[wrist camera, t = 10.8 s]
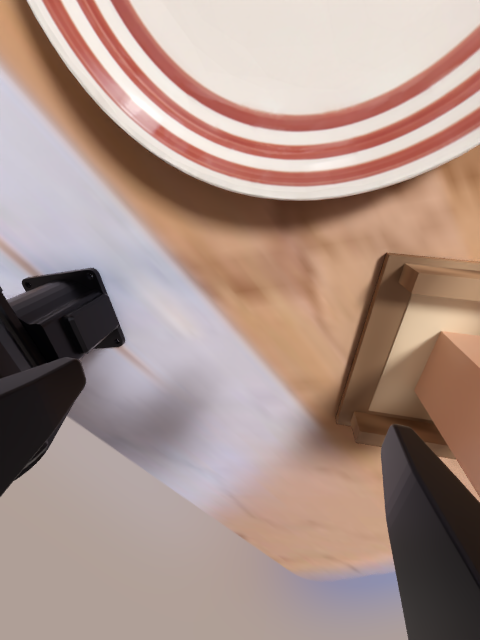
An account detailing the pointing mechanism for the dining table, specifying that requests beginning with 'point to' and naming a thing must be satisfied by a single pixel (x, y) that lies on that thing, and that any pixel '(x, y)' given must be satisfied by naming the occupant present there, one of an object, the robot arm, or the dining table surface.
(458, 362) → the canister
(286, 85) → the dinner plate
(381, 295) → the square wooden tray
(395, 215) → the dining table surface
